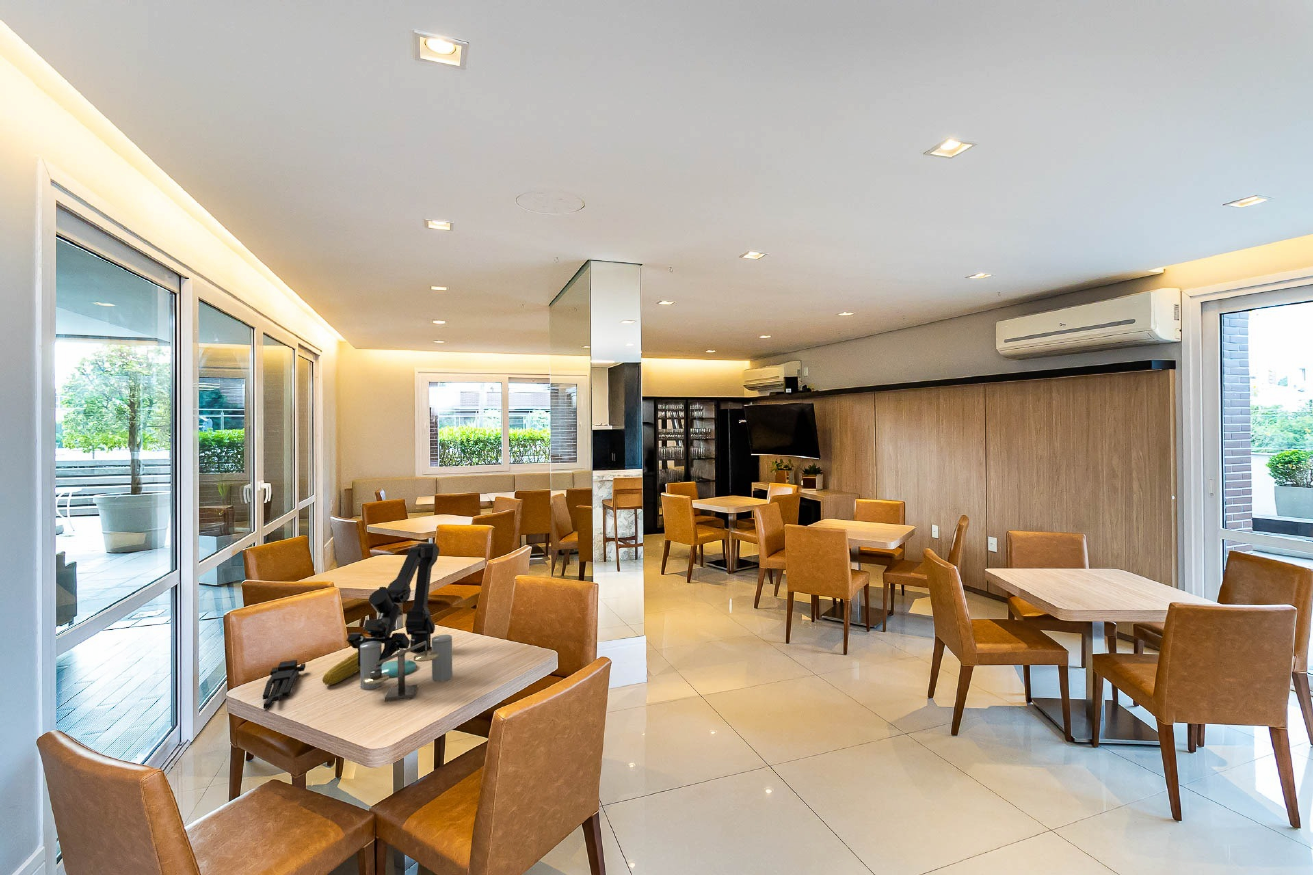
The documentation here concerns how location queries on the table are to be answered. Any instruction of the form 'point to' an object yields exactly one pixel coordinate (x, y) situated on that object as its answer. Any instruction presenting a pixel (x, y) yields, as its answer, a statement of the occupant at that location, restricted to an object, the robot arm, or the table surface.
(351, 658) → the food
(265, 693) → the toy
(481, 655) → the table surface
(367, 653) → the cup
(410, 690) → the balance
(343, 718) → the table surface
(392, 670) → the dish
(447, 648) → the cup
